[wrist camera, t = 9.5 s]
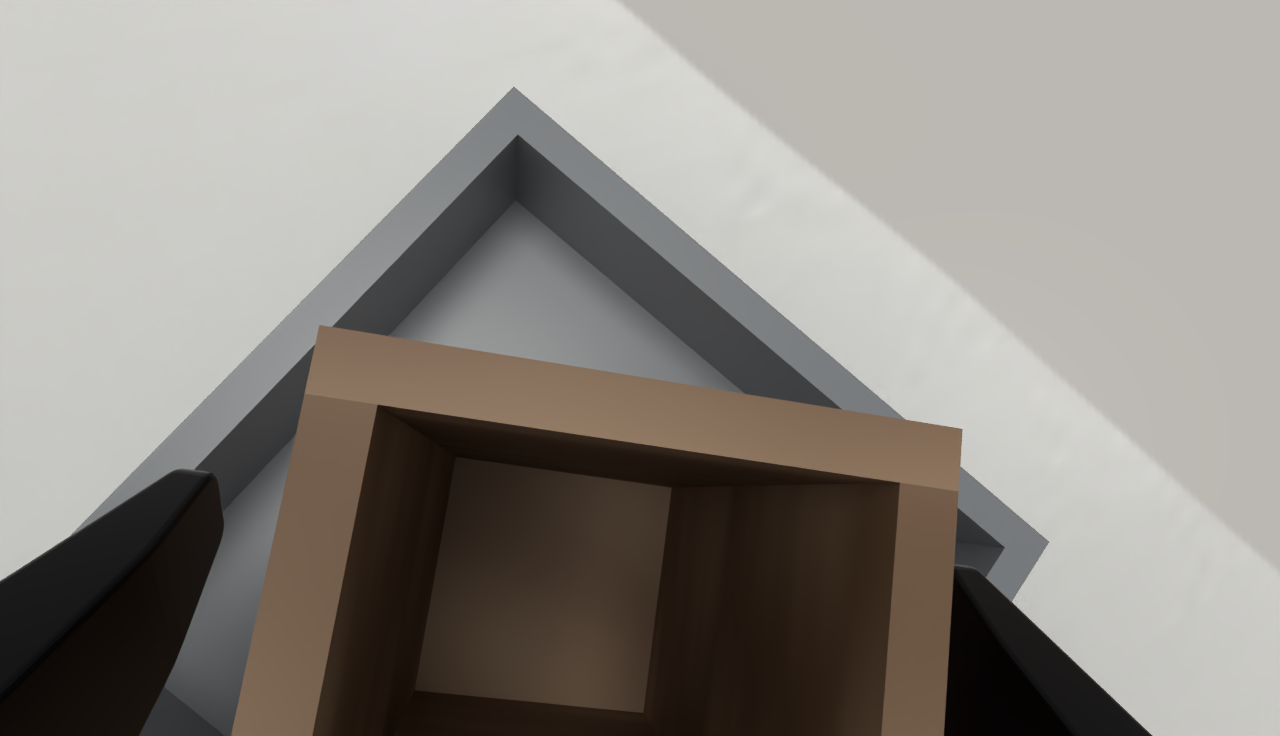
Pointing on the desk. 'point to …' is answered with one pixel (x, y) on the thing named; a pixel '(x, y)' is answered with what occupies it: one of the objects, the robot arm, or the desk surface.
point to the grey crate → (503, 324)
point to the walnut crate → (596, 557)
